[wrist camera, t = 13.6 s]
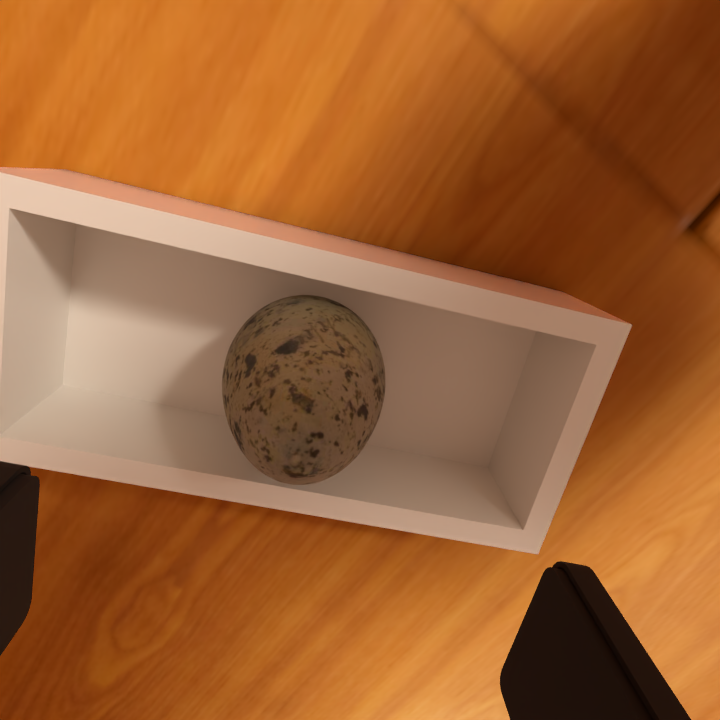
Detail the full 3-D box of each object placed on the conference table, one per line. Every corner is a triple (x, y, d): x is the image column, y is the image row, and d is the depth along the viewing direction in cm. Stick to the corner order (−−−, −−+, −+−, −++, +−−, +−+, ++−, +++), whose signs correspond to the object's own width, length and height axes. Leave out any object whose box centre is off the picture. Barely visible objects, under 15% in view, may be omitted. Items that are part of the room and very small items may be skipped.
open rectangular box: (562, 291, 25) (632, 324, 19) (494, 477, 28) (537, 554, 22) (65, 169, 22) (-25, 166, 16) (48, 392, 25) (-34, 455, 19)
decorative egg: (401, 329, 24) (452, 427, 15) (326, 430, 25) (327, 580, 16) (288, 251, 23) (263, 304, 13) (214, 363, 24) (144, 484, 15)
